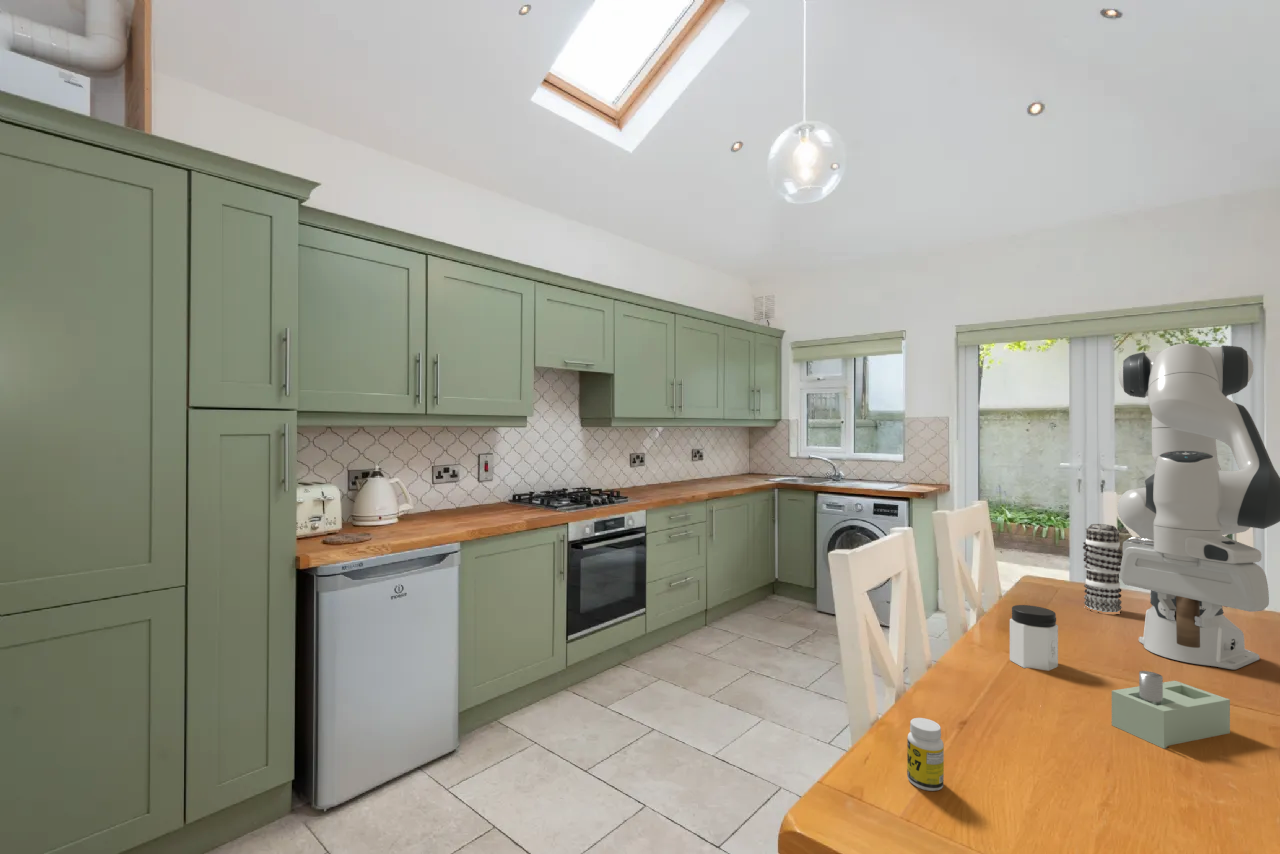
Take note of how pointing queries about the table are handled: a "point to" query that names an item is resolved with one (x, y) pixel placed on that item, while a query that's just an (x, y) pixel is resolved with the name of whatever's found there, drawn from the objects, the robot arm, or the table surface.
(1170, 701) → the socket block
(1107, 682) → the table surface
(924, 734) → the supplement bottle
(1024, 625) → the jar
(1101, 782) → the table surface
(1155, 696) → the grey metal peg
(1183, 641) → the walnut peg
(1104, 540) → the decorative candle
